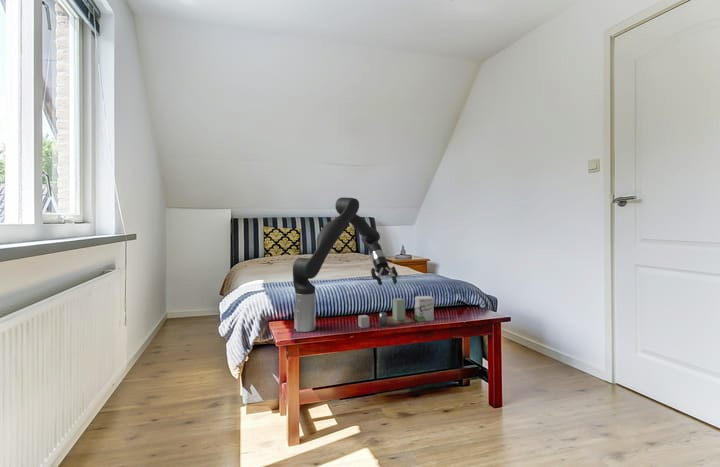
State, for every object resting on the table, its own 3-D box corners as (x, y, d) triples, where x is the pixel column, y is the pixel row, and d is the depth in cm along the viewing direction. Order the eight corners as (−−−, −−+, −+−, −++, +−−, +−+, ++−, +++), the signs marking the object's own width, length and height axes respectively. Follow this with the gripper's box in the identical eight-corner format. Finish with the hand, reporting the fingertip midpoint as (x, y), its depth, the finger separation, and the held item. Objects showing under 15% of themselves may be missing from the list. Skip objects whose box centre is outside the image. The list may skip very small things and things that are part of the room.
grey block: (361, 328, 185) (361, 317, 185) (358, 325, 188) (358, 315, 188) (369, 327, 186) (369, 316, 186) (365, 325, 190) (365, 314, 190)
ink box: (418, 321, 196) (418, 298, 195) (414, 319, 200) (414, 296, 200) (434, 320, 198) (434, 297, 197) (429, 318, 203) (429, 295, 202)
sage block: (396, 320, 194) (397, 300, 193) (392, 318, 198) (392, 298, 198) (405, 319, 196) (405, 299, 195) (400, 317, 200) (400, 298, 199)
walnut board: (393, 325, 189) (393, 323, 189) (382, 319, 200) (382, 317, 200) (415, 322, 194) (415, 320, 194) (403, 316, 205) (403, 314, 205)
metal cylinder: (378, 326, 188) (378, 313, 187) (379, 323, 191) (380, 311, 191) (385, 326, 187) (386, 314, 186) (386, 324, 190) (387, 312, 190)
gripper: (369, 256, 212) (378, 280, 202) (392, 255, 217) (402, 279, 207) (365, 264, 217) (374, 289, 207) (388, 263, 222) (397, 287, 212)
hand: (388, 284), depth 207 cm, fingers open, 8 cm apart
